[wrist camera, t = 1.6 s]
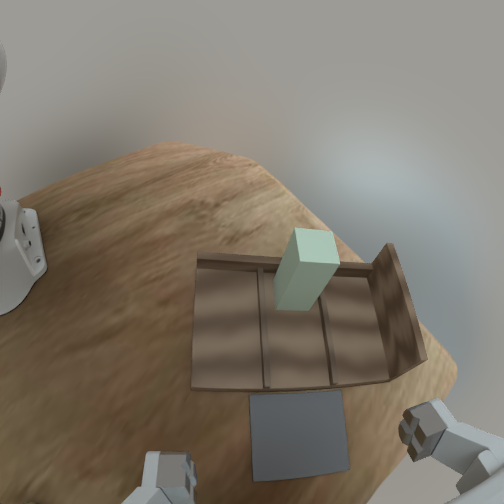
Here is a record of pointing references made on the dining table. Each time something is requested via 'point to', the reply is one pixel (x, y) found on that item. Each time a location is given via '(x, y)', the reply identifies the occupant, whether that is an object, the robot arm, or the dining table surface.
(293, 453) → the mat
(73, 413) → the dining table surface
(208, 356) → the lane shelf
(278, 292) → the block
